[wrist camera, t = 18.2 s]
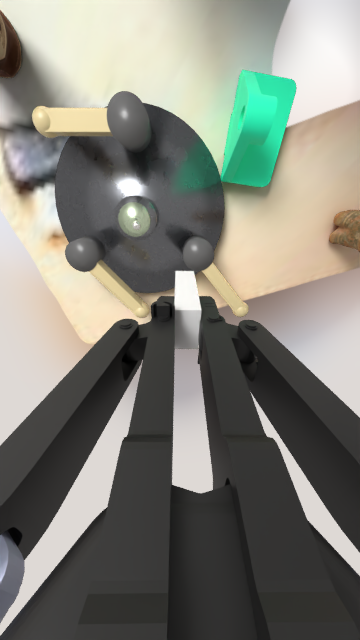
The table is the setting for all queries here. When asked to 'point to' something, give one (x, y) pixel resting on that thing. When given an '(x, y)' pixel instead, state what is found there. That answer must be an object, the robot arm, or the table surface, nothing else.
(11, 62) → the coffee cup
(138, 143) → the maraca
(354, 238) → the figurine
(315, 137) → the table surface
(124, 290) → the knob
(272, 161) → the camera mount
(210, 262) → the knob
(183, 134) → the level base
